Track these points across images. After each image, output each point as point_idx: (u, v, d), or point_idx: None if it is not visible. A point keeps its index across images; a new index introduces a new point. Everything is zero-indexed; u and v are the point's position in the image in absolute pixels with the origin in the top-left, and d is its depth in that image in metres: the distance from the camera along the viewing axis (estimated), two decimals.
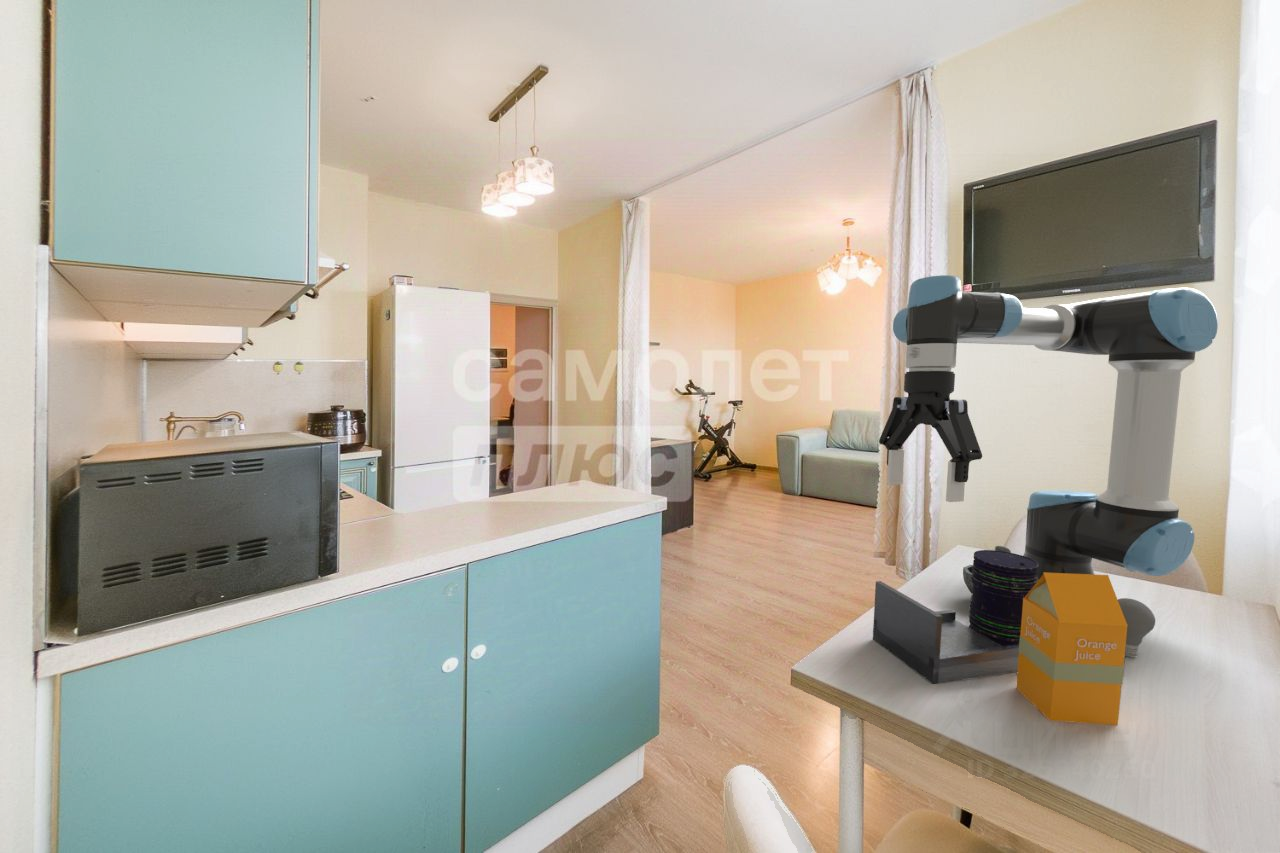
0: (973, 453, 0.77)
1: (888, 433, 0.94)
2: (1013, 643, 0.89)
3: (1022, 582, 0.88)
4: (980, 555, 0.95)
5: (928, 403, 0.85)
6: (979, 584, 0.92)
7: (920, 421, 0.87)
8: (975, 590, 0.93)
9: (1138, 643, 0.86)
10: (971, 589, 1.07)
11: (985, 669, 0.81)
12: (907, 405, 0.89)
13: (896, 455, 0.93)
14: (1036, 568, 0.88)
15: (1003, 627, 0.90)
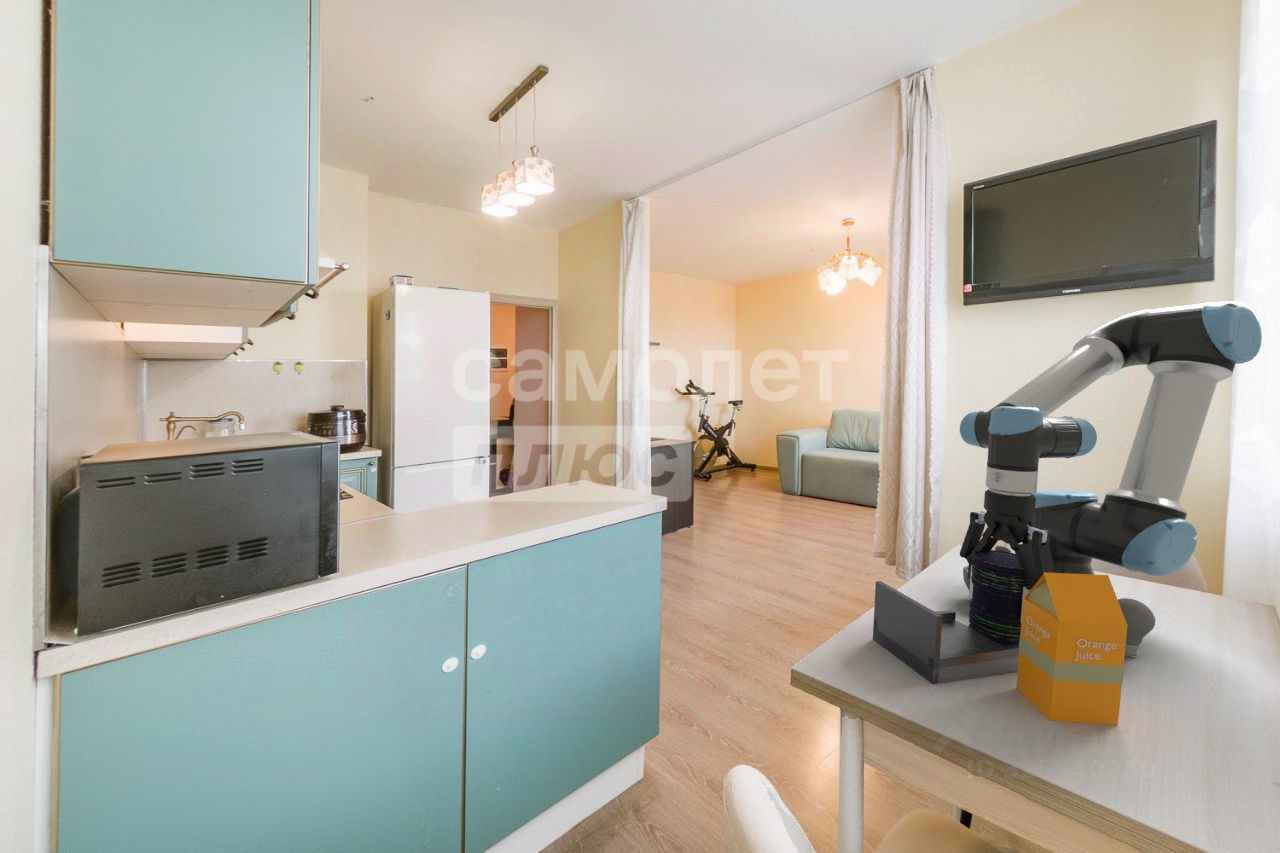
0: None
1: (968, 546, 0.99)
2: (1013, 643, 0.89)
3: (1022, 582, 0.88)
4: (980, 554, 0.95)
5: (1010, 524, 0.90)
6: (979, 584, 0.92)
7: (1000, 538, 0.92)
8: (975, 590, 0.93)
9: (1138, 643, 0.86)
10: None
11: (985, 669, 0.81)
12: (986, 520, 0.95)
13: None
14: None
15: (1003, 627, 0.90)
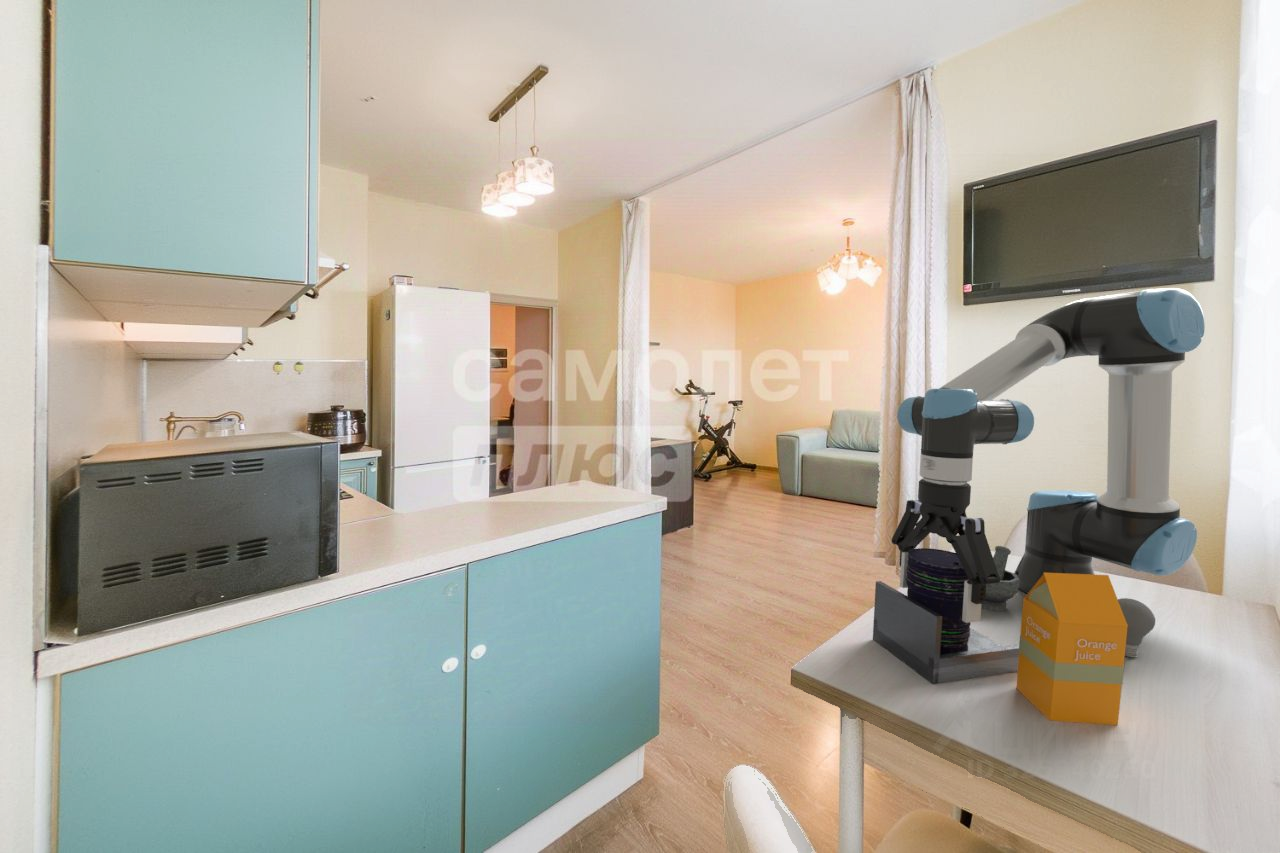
0: (991, 578, 0.76)
1: (901, 534, 0.93)
2: (946, 649, 0.82)
3: (955, 583, 0.81)
4: (915, 553, 0.88)
5: (943, 515, 0.83)
6: (911, 585, 0.85)
7: (935, 531, 0.85)
8: (909, 591, 0.87)
9: (1138, 643, 0.86)
10: None
11: (985, 669, 0.81)
12: (921, 511, 0.88)
13: None
14: None
15: None
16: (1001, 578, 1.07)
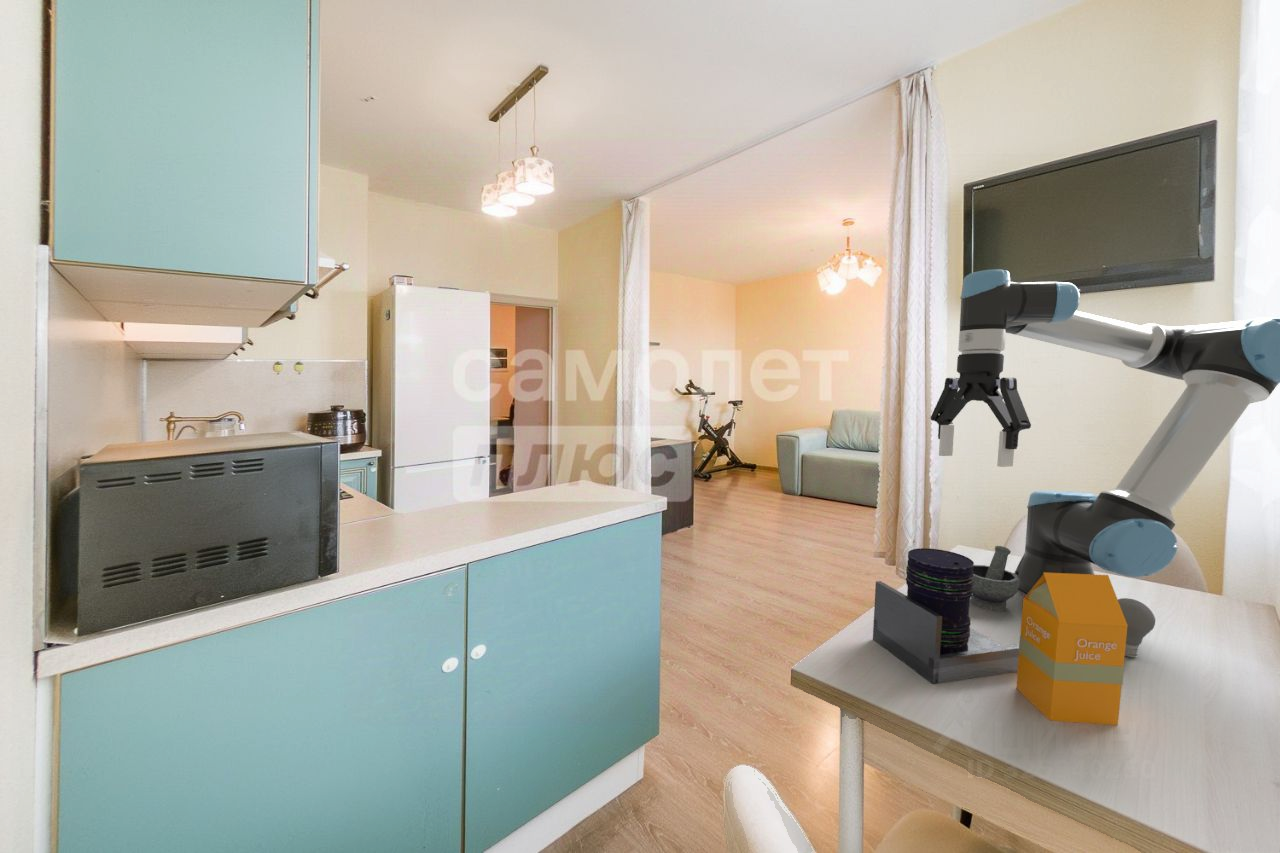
0: (1023, 423, 0.89)
1: (939, 410, 1.06)
2: (946, 649, 0.82)
3: (955, 583, 0.81)
4: (915, 553, 0.88)
5: (980, 382, 0.97)
6: (911, 585, 0.85)
7: (972, 398, 0.99)
8: (909, 591, 0.87)
9: (1138, 643, 0.86)
10: None
11: (985, 669, 0.81)
12: (959, 384, 1.01)
13: (947, 429, 1.05)
14: (970, 568, 0.81)
15: None
16: (1001, 578, 1.07)
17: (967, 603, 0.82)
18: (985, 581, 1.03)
